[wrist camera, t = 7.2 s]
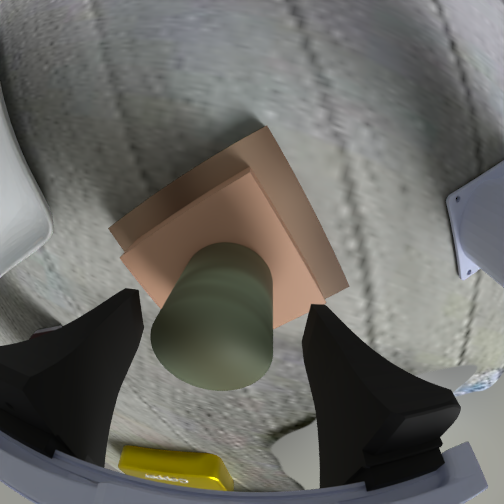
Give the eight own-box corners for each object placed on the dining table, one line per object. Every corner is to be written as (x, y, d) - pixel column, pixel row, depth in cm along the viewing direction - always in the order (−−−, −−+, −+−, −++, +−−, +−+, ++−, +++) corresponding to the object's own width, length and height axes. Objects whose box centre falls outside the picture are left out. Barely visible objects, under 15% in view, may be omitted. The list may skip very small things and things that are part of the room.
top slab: (249, 166, 15) (250, 172, 12) (316, 280, 17) (326, 302, 15) (135, 240, 16) (119, 257, 14) (210, 333, 19) (206, 358, 17)
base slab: (264, 126, 16) (266, 125, 14) (338, 268, 20) (349, 286, 18) (123, 216, 18) (108, 228, 16) (210, 331, 22) (206, 352, 20)
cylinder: (241, 225, 13) (225, 277, 8) (288, 298, 14) (294, 369, 10) (167, 268, 14) (127, 328, 10) (217, 331, 16) (199, 400, 11)
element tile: (218, 450, 30) (216, 480, 26) (235, 482, 36) (235, 505, 32) (119, 441, 31) (111, 466, 26) (155, 477, 37) (151, 497, 32)
